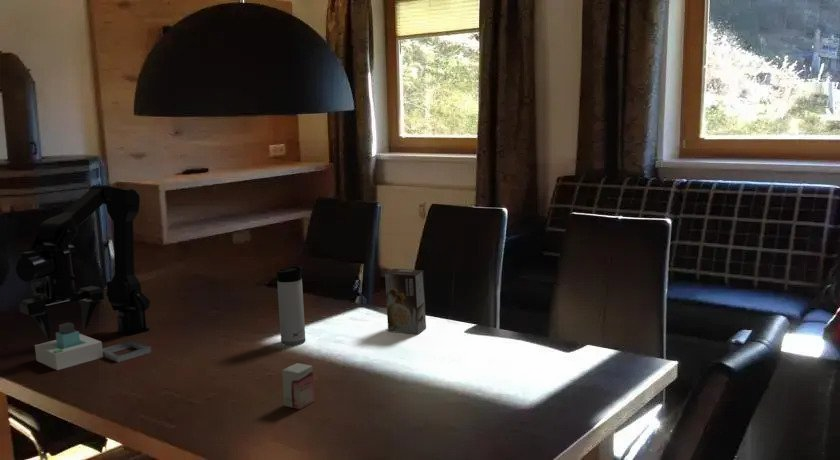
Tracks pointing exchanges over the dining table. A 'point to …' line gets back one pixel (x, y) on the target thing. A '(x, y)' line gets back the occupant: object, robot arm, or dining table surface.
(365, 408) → the dining table surface
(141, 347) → the open square ring
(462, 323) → the dining table surface
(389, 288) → the coffee box
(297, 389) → the small box
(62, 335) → the plug
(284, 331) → the travel mug
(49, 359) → the frame
